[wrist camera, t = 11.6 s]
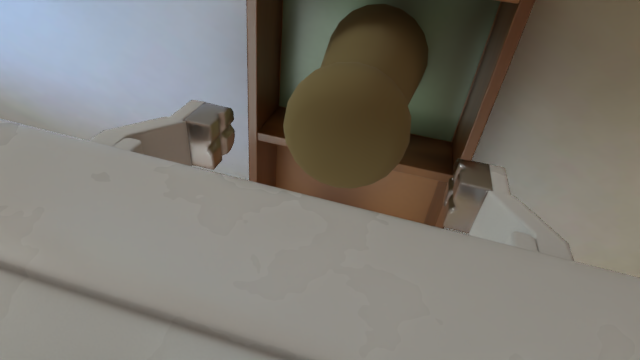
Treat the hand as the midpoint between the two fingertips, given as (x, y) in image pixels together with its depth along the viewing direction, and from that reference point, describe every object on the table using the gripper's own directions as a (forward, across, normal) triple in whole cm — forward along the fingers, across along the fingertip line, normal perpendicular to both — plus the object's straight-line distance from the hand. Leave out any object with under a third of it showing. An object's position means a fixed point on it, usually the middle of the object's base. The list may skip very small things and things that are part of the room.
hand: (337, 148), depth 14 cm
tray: (+12, 0, +6) cm, 14 cm away
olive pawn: (+12, 0, +1) cm, 12 cm away
